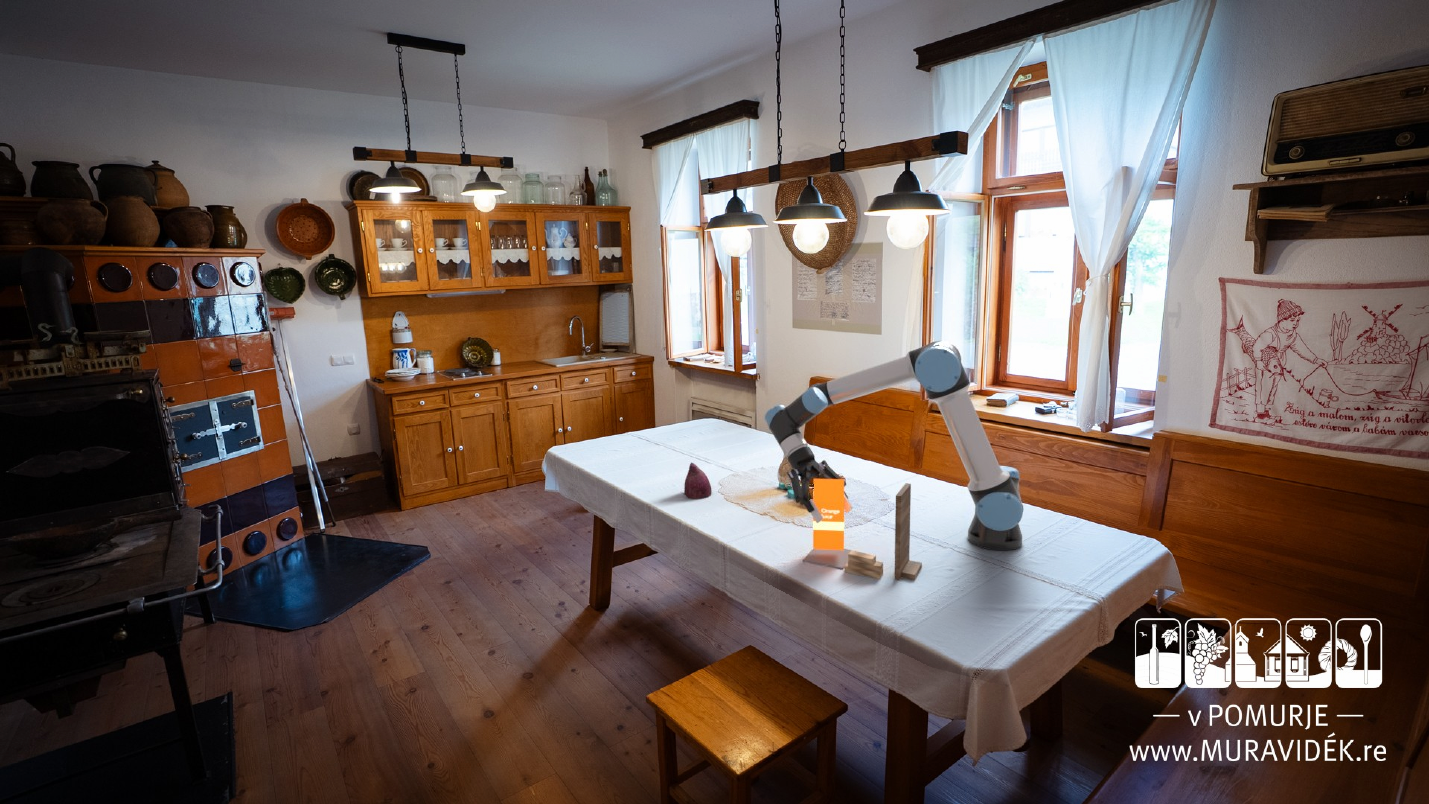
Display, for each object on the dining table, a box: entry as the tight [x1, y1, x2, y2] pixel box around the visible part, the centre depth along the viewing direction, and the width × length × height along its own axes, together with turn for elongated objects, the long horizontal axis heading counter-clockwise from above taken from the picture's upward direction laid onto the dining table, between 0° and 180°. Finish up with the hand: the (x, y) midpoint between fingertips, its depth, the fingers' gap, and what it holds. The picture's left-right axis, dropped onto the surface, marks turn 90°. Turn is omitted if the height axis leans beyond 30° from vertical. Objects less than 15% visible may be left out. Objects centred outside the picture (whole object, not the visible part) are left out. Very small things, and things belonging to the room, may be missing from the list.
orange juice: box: [812, 478, 845, 550], centre depth 192 cm, size 8×9×20 cm
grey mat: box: [802, 548, 852, 570], centre depth 195 cm, size 12×12×1 cm
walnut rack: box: [843, 482, 923, 581], centre depth 183 cm, size 18×12×24 cm, turn 60°
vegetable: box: [683, 462, 713, 500], centre depth 248 cm, size 10×10×15 cm
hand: (835, 515), depth 190 cm, fingers closed on orange juice, 11 cm apart
